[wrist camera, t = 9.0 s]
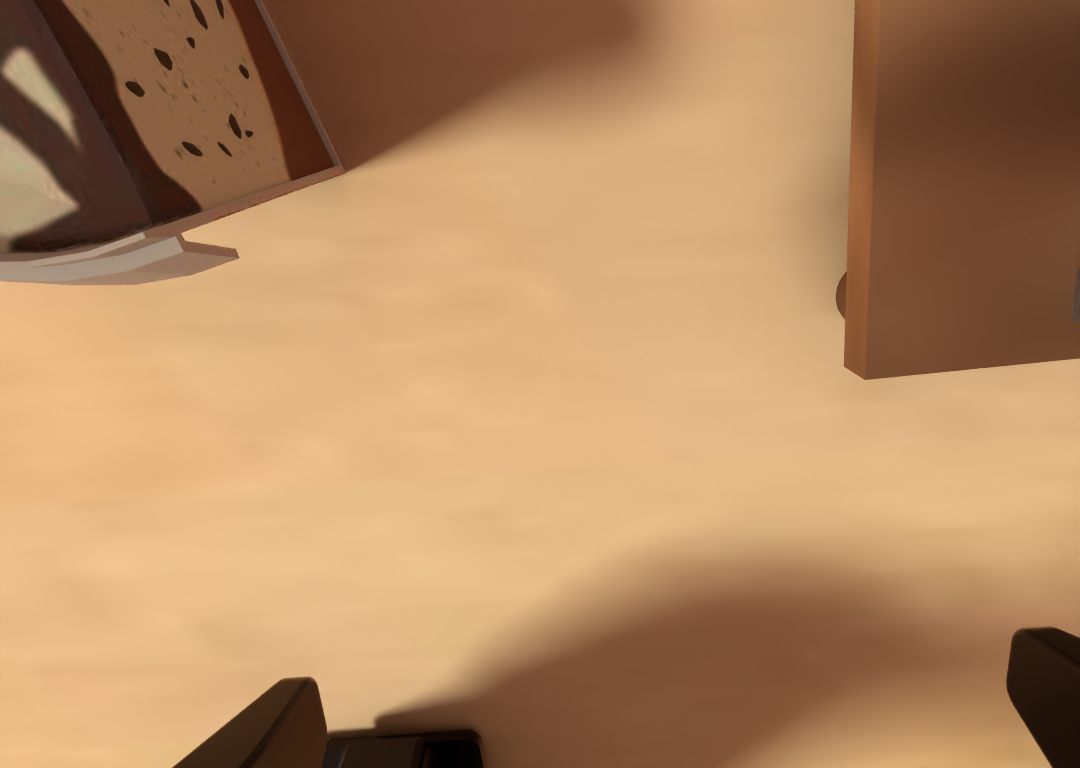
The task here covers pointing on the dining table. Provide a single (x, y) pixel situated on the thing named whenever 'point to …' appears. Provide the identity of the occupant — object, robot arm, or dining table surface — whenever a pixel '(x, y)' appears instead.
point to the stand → (962, 186)
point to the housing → (1076, 301)
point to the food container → (143, 134)
